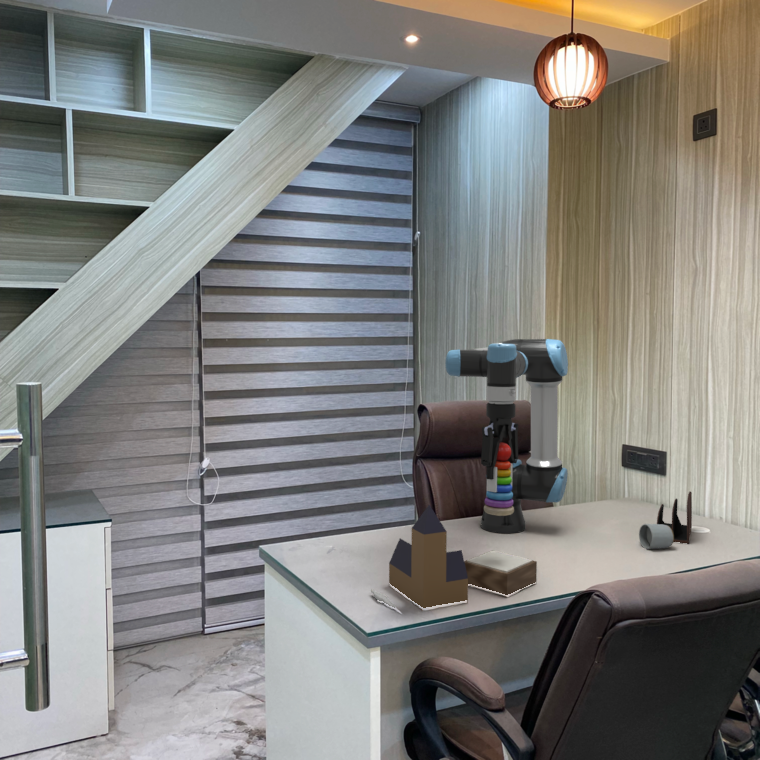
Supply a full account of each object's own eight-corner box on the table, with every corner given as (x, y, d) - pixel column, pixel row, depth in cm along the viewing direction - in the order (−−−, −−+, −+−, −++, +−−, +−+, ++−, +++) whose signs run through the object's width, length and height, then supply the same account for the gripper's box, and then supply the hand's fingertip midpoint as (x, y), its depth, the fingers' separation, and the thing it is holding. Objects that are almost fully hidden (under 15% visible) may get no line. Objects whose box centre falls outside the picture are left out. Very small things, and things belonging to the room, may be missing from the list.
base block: (462, 584, 189) (462, 560, 189) (492, 571, 199) (492, 548, 199) (507, 597, 180) (507, 572, 179) (536, 583, 190) (536, 560, 189)
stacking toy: (498, 518, 183) (500, 445, 182) (477, 511, 190) (478, 441, 189) (520, 513, 188) (521, 443, 187) (498, 507, 194) (499, 439, 193)
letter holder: (691, 529, 243) (693, 488, 242) (689, 545, 226) (690, 501, 225) (660, 525, 248) (661, 485, 247) (655, 540, 230) (656, 497, 229)
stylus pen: (366, 595, 181) (367, 588, 180) (375, 594, 182) (376, 586, 182) (398, 619, 168) (398, 611, 168) (407, 617, 169) (408, 609, 169)
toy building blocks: (423, 611, 171) (424, 508, 169) (389, 586, 188) (389, 492, 186) (467, 603, 176) (468, 503, 174) (430, 579, 193) (431, 488, 191)
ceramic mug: (675, 550, 219) (676, 525, 219) (651, 552, 217) (652, 527, 217) (655, 541, 229) (655, 517, 229) (632, 542, 228) (632, 519, 227)
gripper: (491, 405, 177) (490, 497, 179) (533, 401, 191) (531, 486, 193) (467, 403, 183) (465, 492, 184) (509, 399, 197) (508, 481, 198)
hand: (499, 489), depth 188 cm, fingers closed on stacking toy, 6 cm apart
